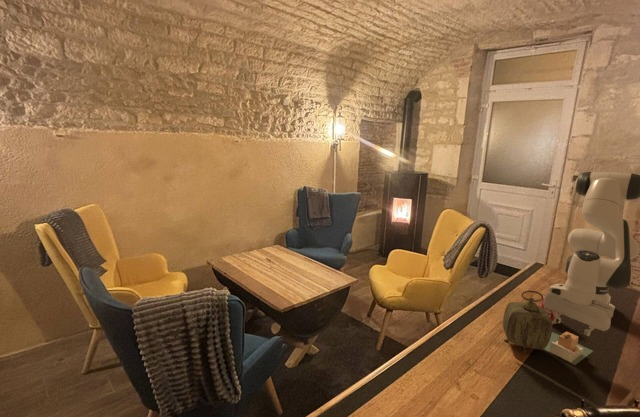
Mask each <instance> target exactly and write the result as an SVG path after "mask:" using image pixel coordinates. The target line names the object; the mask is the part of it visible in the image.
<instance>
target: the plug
mask: <svg viewBox="0 0 640 417" xmlns="http://www.w3.org/2000/svg"><path fill="white" fill-rule="evenodd" d="M559 335H560V334H559ZM577 344H579V336H578V335H575V334H574V333H571V332H569V331H565V332H563V333H562V334H561V335H560V336H559V340H558V345H561V346H563V347H565V348H567V349H569V350H571V351H573V352H575V351H576V347H577Z"/></svg>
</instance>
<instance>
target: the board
mask: <svg viewBox="0 0 640 417" xmlns="http://www.w3.org/2000/svg"><path fill="white" fill-rule="evenodd" d="M559 336H560V334H558V333H555V332H553V331H552V334H551V337H550V341H549V343H548V345H547V346H546V347H545V349H543V350H544V351H546V352H548V353H550V354H552V355H554V356H556V357H558V358H560V359H561V360H564V361H565V362H567V363H570V364H571V365H574V366H577V364H579V363H580V362H581V361H583V360H584V359H585V358H586V357H587V356H589V355H591V353H593V352H594V350H592V349H590V348H588V347H585V346H583V345H582V344H579V343H577V346H579V347H581V348H583V352H582V355H580V356H579V357H578V358H576V359H575V360H574V361H572V362H569V361H567V360H565V359H563V358H561V357H559V356H557V355H555V354H553V353H551V352H550V351H549V350H550V345H551V342H554V343H555V342H557V341H558V340H559Z"/></svg>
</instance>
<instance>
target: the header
mask: <svg viewBox="0 0 640 417" xmlns="http://www.w3.org/2000/svg"><path fill="white" fill-rule="evenodd" d="M549 351H550V352H551V353H550V352H549V353H550V354H552V353H553V354H552V355H554V354H555V355H554V356H556V355H557V356H556V357H558V356H559V357H558V358H560V357H561V358H560V359H562V358H563V359H562V360H564V359H565V360H564V361H566V360H567V361H566V362H568V361H569V362H568V363H570V362H572V361H574V360H575V359H576V358H578V357H579V356H580V355H582V352H583V348H581V347H579V346H577V347H576V351H575V352H573V351H571V350H569V349H567V348H565V347H563V346H561V345H558V341H557V342H555V343H554V342H551V345H550V350H549Z"/></svg>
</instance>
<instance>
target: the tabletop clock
mask: <svg viewBox="0 0 640 417" xmlns="http://www.w3.org/2000/svg"><path fill="white" fill-rule="evenodd" d="M526 293H533V294H537V295H539V296H540V297H541V298H540V299H534V298H533V297H530V298H527V297H525V296H524V294H526ZM521 297H522V298H523V299H524V300H526V301H524V302H518V301H512V302H508V304H506V307H505V308H504V309H505V310H504V313H503V317H502V318H503V320H502V327H503V330H504V334H505V336H506V338H505V339H504V340H503V341H504V342H505V343H511V344H514V345H517V346H520V347H523V349H522V350H521V352H522V353H524V354H525V353H527V350H526V348H529V349H534V350H544V349H545V347H546V346H547V345H548V343H549V341H550V337H551V334H552V332H553V324H552V320H551V318H550V316H549V314H548V313H547V311H546V310H545V309H544V308H543V307H541V305H537V303H538V302H542V299H543V297H544V296H543V294H542V293H540V292H538V291H537V290H525V291H523V292H522V293H521Z"/></svg>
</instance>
